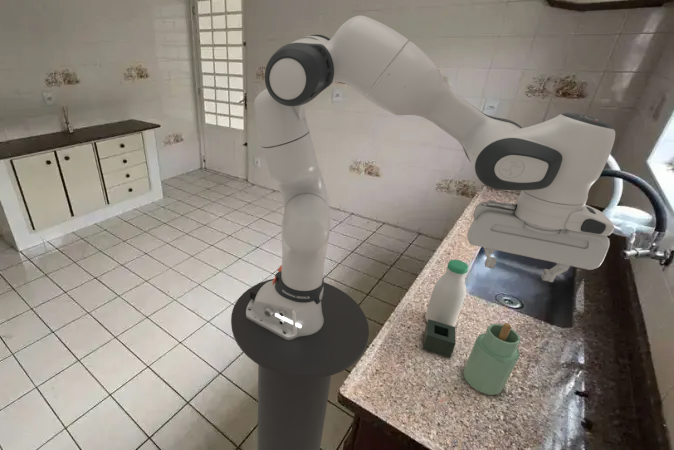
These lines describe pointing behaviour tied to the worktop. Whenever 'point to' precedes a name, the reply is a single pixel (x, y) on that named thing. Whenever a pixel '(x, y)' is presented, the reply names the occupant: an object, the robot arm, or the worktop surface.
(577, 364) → the worktop surface
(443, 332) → the spoon holder
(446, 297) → the milk bottle
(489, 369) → the green jar
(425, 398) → the worktop surface
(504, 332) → the wooden stick
